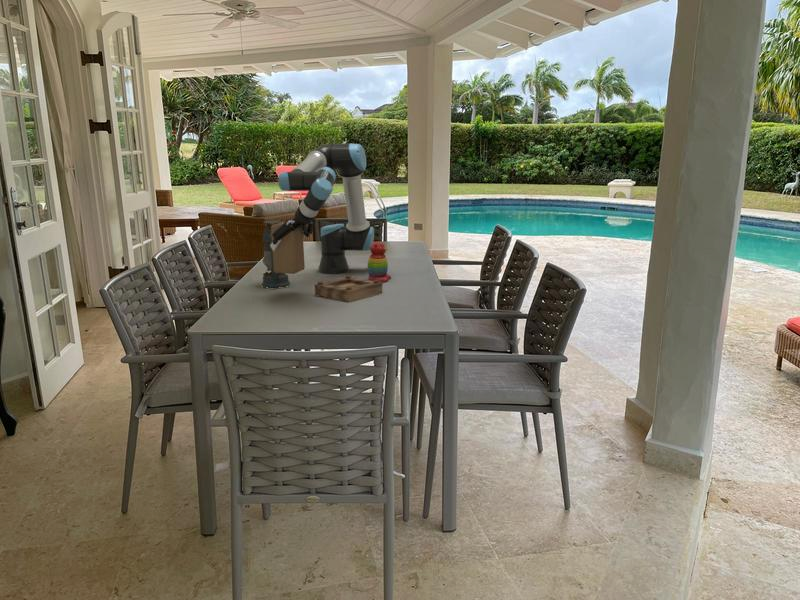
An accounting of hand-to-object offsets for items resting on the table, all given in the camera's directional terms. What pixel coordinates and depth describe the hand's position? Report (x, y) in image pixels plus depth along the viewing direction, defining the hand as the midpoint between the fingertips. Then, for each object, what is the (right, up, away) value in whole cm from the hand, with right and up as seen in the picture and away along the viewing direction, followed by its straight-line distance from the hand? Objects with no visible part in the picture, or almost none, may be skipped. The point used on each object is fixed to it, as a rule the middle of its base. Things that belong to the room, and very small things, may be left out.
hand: (284, 246), depth 250 cm
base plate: (+26, -20, +3) cm, 33 cm away
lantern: (-7, -16, +22) cm, 28 cm away
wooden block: (+2, -11, +1) cm, 11 cm away
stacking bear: (+38, -13, +30) cm, 50 cm away
